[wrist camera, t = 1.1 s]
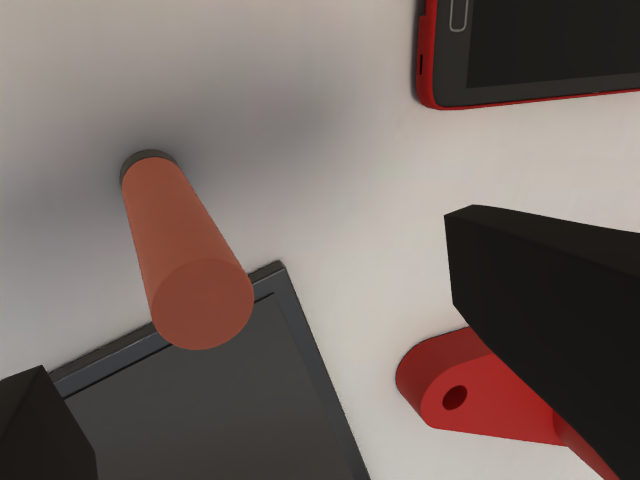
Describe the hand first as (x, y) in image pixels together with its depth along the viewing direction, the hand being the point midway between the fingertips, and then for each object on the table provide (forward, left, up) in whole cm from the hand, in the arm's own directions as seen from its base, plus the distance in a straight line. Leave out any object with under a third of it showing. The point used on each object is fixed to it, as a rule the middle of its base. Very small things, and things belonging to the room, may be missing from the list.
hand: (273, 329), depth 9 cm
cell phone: (+17, 0, -11) cm, 20 cm away
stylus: (-1, 0, -11) cm, 11 cm away
